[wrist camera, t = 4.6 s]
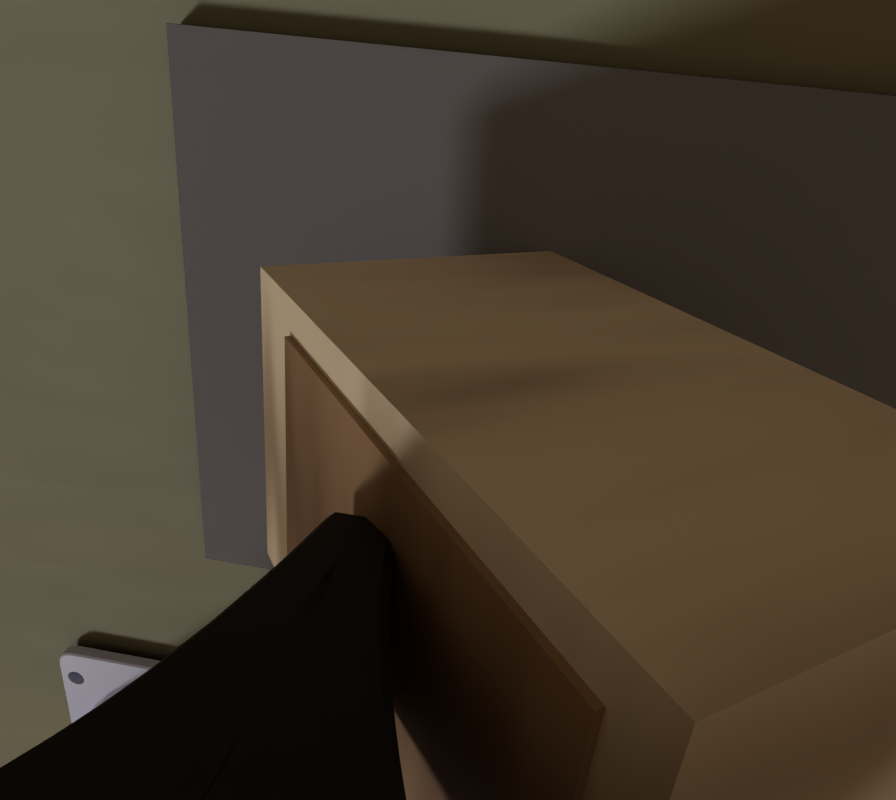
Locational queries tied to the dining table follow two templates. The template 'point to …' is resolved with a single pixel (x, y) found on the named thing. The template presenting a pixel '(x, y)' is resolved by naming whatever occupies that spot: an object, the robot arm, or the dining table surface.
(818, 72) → the dining table surface
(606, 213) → the rubber mat
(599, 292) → the birch block
